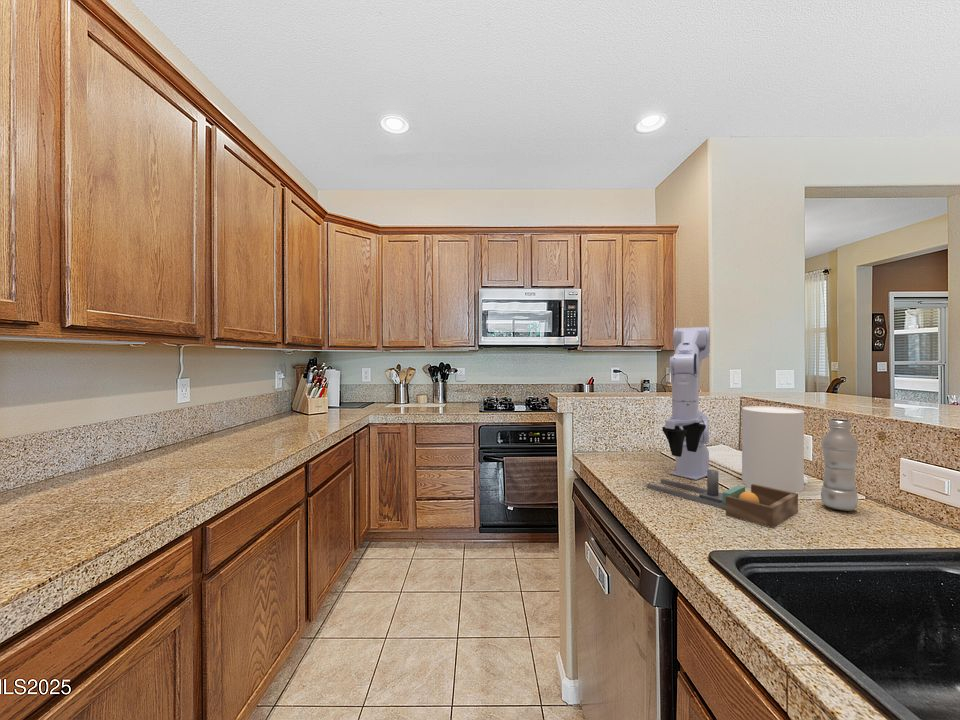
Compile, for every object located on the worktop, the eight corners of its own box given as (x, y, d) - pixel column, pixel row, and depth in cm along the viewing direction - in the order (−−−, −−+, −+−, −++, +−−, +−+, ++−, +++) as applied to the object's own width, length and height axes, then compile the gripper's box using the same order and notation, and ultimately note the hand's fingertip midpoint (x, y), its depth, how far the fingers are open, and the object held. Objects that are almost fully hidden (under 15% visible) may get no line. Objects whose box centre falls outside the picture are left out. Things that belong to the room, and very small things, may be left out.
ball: (766, 504, 96) (749, 510, 98) (755, 487, 97) (739, 493, 100) (758, 509, 93) (742, 514, 96) (747, 491, 95) (731, 497, 98)
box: (752, 500, 102) (752, 483, 102) (797, 511, 95) (798, 493, 95) (725, 514, 94) (725, 496, 94) (772, 528, 87) (772, 508, 87)
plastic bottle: (849, 505, 99) (850, 418, 98) (864, 516, 92) (865, 423, 92) (815, 502, 101) (816, 417, 100) (828, 512, 94) (828, 421, 94)
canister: (760, 474, 123) (760, 405, 123) (814, 487, 111) (815, 410, 111) (731, 481, 117) (731, 408, 117) (785, 496, 105) (785, 414, 105)
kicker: (712, 492, 107) (712, 466, 107) (745, 501, 101) (745, 473, 101) (695, 499, 102) (695, 472, 102) (729, 509, 96) (729, 479, 96)
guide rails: (662, 482, 117) (662, 478, 117) (742, 502, 101) (742, 498, 101) (647, 487, 113) (646, 483, 113) (727, 509, 97) (727, 505, 97)
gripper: (684, 404, 103) (684, 461, 103) (714, 399, 111) (714, 452, 112) (657, 401, 108) (657, 455, 109) (687, 397, 117) (687, 447, 117)
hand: (684, 453), depth 110 cm, fingers open, 7 cm apart
